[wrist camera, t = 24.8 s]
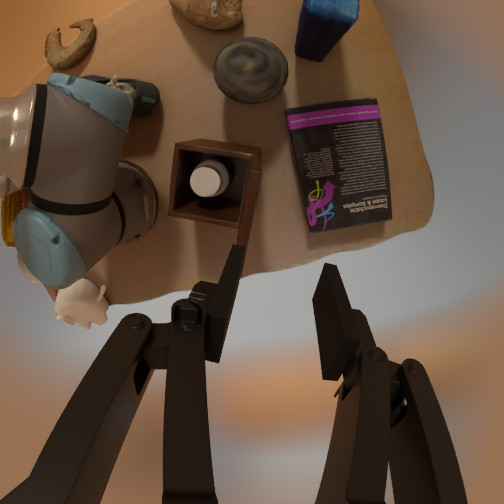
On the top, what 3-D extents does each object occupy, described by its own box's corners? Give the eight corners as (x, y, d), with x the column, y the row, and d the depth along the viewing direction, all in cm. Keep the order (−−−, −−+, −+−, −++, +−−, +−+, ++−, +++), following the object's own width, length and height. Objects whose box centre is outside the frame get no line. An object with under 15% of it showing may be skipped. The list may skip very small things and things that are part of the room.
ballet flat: (63, 79, 36) (35, 78, 28) (169, 76, 36) (147, 68, 29) (57, 118, 39) (29, 122, 32) (159, 124, 40) (135, 125, 32)
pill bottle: (238, 185, 43) (228, 199, 35) (206, 190, 43) (190, 205, 35) (232, 152, 40) (220, 158, 32) (200, 158, 41) (181, 166, 33)
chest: (192, 194, 45) (167, 215, 34) (200, 138, 40) (175, 143, 30) (250, 205, 44) (242, 229, 34) (261, 148, 40) (255, 155, 30)
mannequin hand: (82, 298, 62) (51, 275, 53) (130, 284, 58) (96, 255, 50) (73, 341, 54) (37, 320, 45) (123, 334, 51) (83, 308, 42)
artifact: (74, 67, 32) (29, 69, 31) (84, 71, 35) (38, 71, 34) (101, 14, 29) (51, 21, 28) (108, 20, 32) (59, 26, 31)
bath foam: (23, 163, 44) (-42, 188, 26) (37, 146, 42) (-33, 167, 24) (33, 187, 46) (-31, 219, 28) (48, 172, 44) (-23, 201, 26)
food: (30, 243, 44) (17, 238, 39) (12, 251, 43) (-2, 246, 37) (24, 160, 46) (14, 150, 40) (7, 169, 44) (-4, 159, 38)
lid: (232, 275, 24) (241, 277, 24) (250, 169, 20) (261, 171, 20) (238, 230, 34) (245, 231, 34) (251, 154, 30) (259, 156, 30)
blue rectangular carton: (305, -11, 27) (319, -80, 9) (337, -3, 27) (370, -66, 9) (291, 58, 34) (300, 6, 16) (325, 66, 34) (361, 23, 16)
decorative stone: (215, 57, 34) (197, 39, 25) (278, 43, 33) (278, 20, 24) (229, 113, 38) (215, 109, 29) (294, 100, 37) (298, 91, 28)
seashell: (187, 13, 34) (161, 37, 33) (172, -18, 26) (141, 5, 25) (255, 13, 30) (230, 38, 30) (244, -26, 22) (214, -5, 22)
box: (284, 110, 38) (307, 228, 45) (284, 108, 35) (309, 235, 42) (370, 99, 35) (386, 215, 43) (377, 97, 32) (393, 222, 39)
